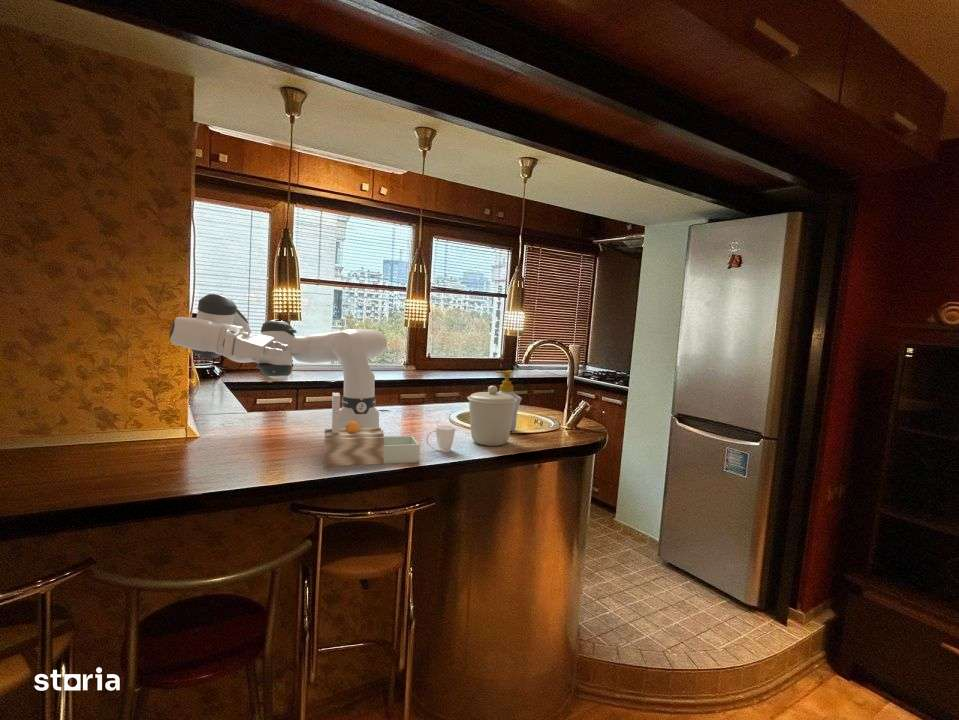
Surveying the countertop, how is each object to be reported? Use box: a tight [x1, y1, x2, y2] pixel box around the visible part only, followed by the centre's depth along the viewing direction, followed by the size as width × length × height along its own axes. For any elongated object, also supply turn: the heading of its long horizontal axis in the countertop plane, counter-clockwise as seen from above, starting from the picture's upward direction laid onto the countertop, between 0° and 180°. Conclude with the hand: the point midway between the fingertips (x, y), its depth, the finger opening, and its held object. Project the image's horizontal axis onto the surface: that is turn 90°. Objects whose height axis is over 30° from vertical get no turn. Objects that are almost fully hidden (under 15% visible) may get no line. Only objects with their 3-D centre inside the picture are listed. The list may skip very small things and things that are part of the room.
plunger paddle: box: [331, 392, 341, 434], centre depth 148 cm, size 2×6×12 cm, turn 18°
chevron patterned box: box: [323, 427, 385, 467], centre depth 151 cm, size 17×11×9 cm
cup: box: [426, 424, 457, 453], centre depth 166 cm, size 7×10×8 cm
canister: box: [466, 385, 517, 447], centre depth 179 cm, size 18×18×21 cm
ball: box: [346, 421, 359, 434], centre depth 150 cm, size 4×4×4 cm
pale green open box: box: [382, 435, 420, 465], centre depth 155 cm, size 11×11×6 cm
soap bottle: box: [496, 369, 523, 432], centre depth 200 cm, size 13×13×25 cm
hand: (285, 350), depth 142 cm, fingers open, 8 cm apart
